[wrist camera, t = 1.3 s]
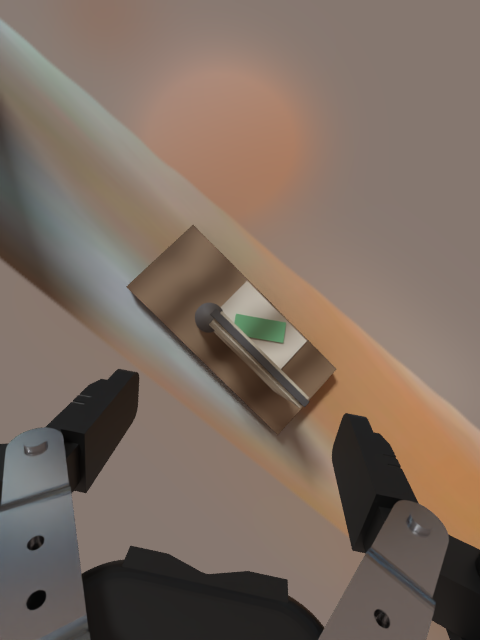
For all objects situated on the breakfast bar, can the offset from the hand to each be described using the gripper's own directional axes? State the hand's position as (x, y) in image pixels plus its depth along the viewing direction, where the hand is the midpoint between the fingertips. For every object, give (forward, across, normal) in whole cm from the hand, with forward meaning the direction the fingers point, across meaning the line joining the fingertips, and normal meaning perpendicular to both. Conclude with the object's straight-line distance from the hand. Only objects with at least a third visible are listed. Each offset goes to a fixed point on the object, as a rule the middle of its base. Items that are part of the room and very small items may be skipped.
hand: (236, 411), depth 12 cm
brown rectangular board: (+25, +2, +7) cm, 26 cm away
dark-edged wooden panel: (+22, +1, +8) cm, 23 cm away
